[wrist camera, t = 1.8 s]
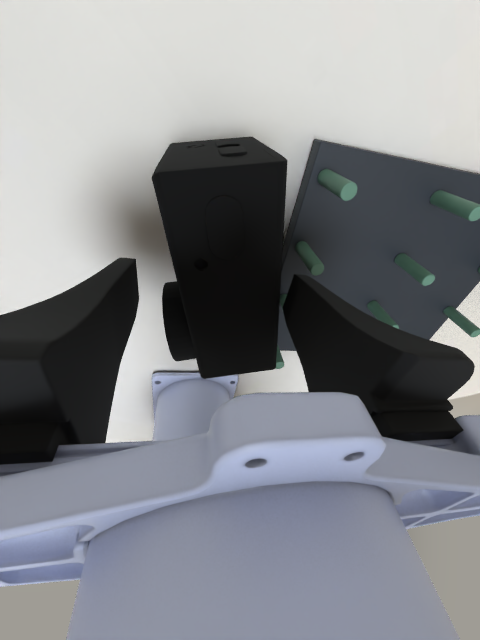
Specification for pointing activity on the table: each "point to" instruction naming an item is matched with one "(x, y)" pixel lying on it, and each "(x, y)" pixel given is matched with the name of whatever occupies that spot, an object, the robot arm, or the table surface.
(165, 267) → the table surface
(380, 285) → the rack
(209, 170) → the digital camera
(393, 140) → the table surface
